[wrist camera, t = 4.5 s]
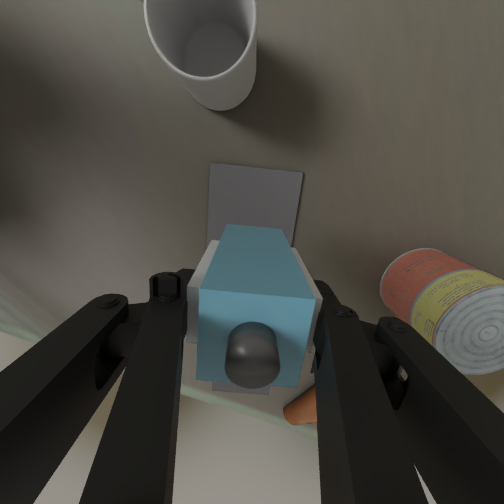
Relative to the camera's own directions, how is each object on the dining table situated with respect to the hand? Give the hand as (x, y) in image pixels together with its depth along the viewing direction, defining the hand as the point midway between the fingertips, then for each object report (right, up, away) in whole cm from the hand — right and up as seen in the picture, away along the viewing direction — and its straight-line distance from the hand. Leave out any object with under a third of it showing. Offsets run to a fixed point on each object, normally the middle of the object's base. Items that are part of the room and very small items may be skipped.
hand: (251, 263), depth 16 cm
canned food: (+25, -4, +21) cm, 33 cm away
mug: (-5, +23, +12) cm, 26 cm away
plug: (0, +1, +2) cm, 2 cm away
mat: (0, +6, +17) cm, 18 cm away
